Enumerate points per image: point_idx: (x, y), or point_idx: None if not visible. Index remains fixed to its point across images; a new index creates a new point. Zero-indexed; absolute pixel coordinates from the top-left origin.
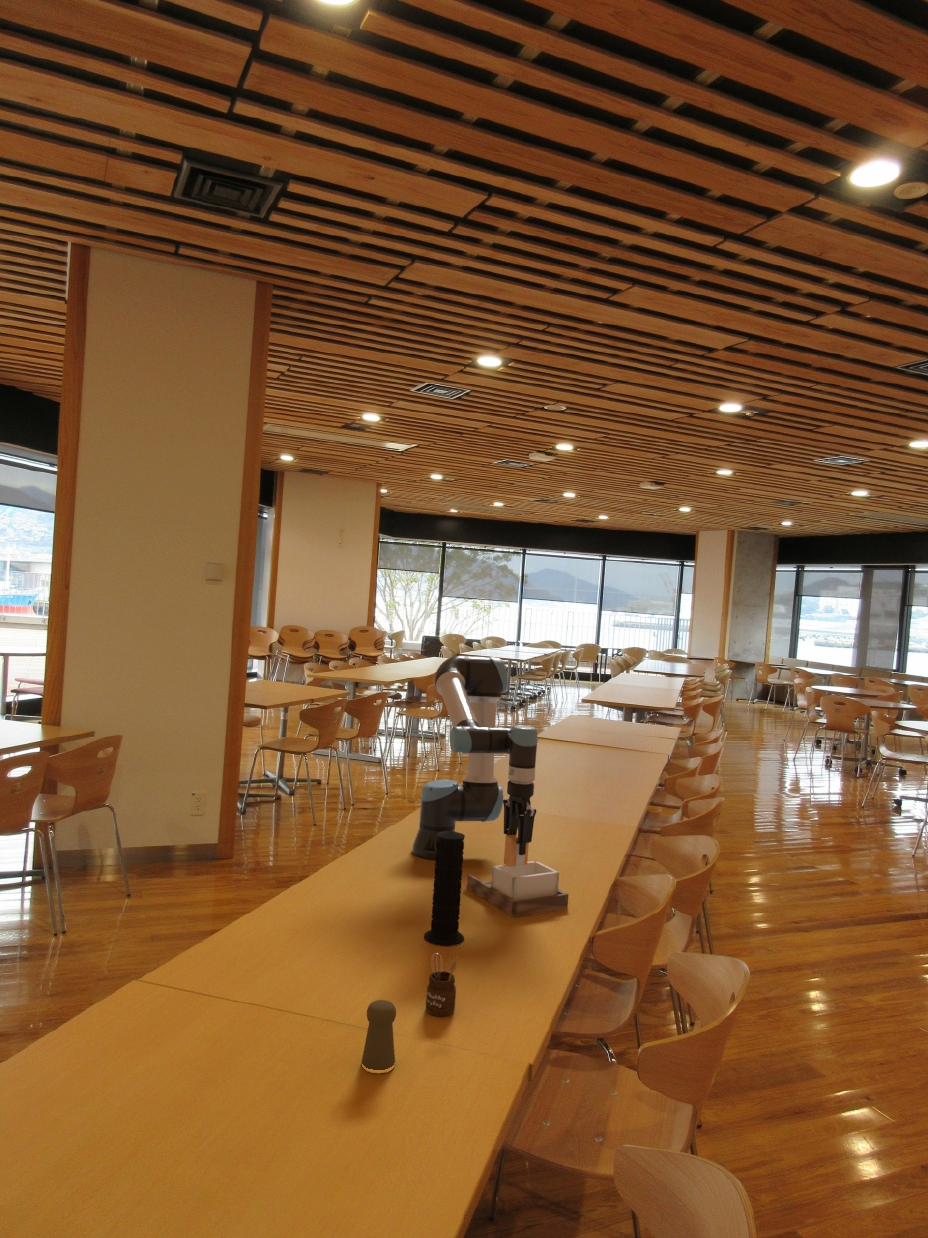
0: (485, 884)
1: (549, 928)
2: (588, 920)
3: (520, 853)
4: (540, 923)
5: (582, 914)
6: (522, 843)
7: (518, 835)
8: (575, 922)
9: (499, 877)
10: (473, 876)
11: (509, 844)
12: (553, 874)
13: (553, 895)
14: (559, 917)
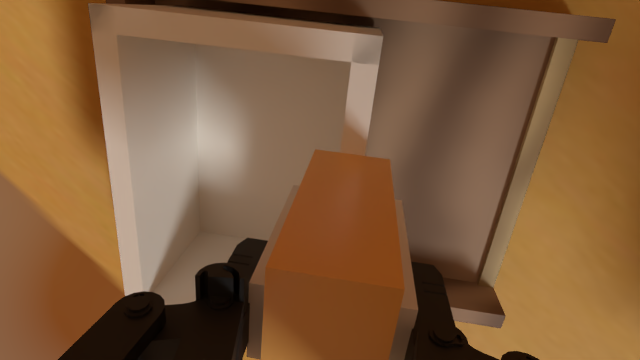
0: (410, 7)
1: (10, 40)
2: (56, 221)
3: (247, 245)
4: (63, 43)
5: (107, 243)
6: (192, 302)
7: (222, 354)
8: (48, 171)
9: (285, 22)
10: (564, 33)
11: (315, 228)
12: (126, 280)
13: None
14: (102, 156)
